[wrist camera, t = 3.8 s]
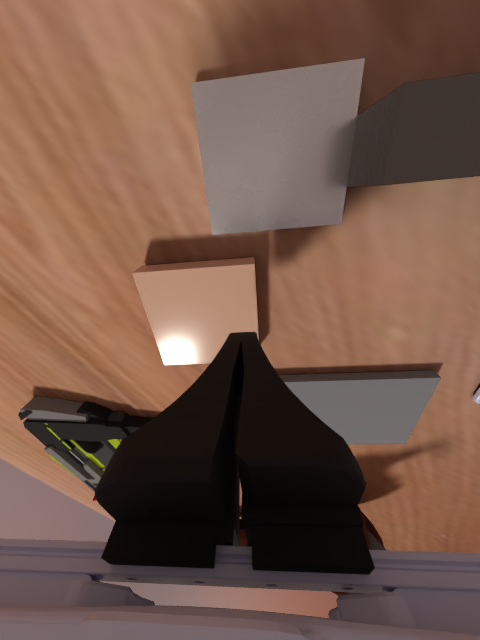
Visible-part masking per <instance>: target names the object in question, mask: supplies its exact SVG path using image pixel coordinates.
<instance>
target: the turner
mask: <svg viewBox="0 0 480 640" xmlns="http://www.w3.org/2000/svg"><path fill="white" fill-rule="evenodd" d="M364 63H365V58H362V59H355V60H348V61H341V62H334V63H327V64H319V65H312V66H305V67H298V68H291V69H284V70H277V71H270V72H263V73H256V74H249V75H242V76H235V77H228V78H221V79H214V80H207V81H200V82H193V83H191V90H192V97H193V104H194V111H195V118H196V125H197V132H198V139H199V146H200V153H201V160H202V167H203V174H204V181H205V188H206V195H207V202H208V209H209V216H210V223H211V230H212V235H217V234H229V233H241V232H253V231H265V230H277V229H288V228H300V227H312V226H324V225H336V224H341V223H342V216H343V209H344V202H345V195H346V188H347V187H352V186H378V185H392V184H402V183H412V182H422V181H433V180H443V179H453V178H464V177H474V176H480V73H472V74H465V75H457V76H449V77H442V78H434V79H427V80H419V81H411V82H405V83H404V84H402V85H401V86H399V87H398V88H397V89H395V90H394V91H392V92H391V93H389V94H388V95H387V96H385V97H384V98H382V99H381V100H379V101H378V102H376V103H375V104H374V105H372V106H371V107H369V108H368V109H366V110H365V111H364V112H362V113H361V114H359V115H358V116H357V112H358V105H359V98H360V91H361V84H362V77H363V70H364Z"/></svg>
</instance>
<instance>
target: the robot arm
mask: <svg viewBox="0 0 480 640" xmlns="http://www.w3.org/2000/svg"><path fill="white" fill-rule="evenodd" d="M473 400H474V401H475V402H476V403H478V404H480V388H479V389H478V390H477V392H476V393H475V395H474V396H473ZM240 482H241V488H242V524H244V529H245V533H246V538H247V543H248V546H239V485H240ZM365 485H366V482H365V480H364V477H363V474H362V471H361V469H360V467H359V465H358V463H357V461H356V459H355V457H354V455H353V453H352V451H351V450H350V448H349V446H348V445H347V443H346V441H345V440H344V438H343V437H341V436H340V435H339V434H338V433H336V432H335V431H334V430H333V429H331V428H330V427H329V426H328V425H326V424H325V423H324V422H323V421H322V420H321V419H319V418H318V417H317V416H316V415H315V414H314V413H313V412H312V411H311V410H310V409H308V408H307V407H306V405H305V404H304V403H303V402H302V401H301V400H300V399H299V398H298V397H297V396H296V395H295V394H294V393H293V392H292V391H291V390H290V389H289V388H288V386H287V385H286V384H285V383H284V381H283V380H282V379H281V378H280V376H279V375H278V374H277V372H276V371H275V369H274V368H273V366H272V365H271V363H270V362H269V360H268V358H267V357H266V355H265V353H264V351H263V349H262V347H261V345H260V343H259V340H258V337H257V333H256V332H236V333H230V334H229V335H228V337H227V339H226V341H225V343H224V344H223V346H222V347H221V349H220V351H219V352H218V353H217V355H216V356H215V358H214V359H213V361H212V362H211V363H210V365H209V366H208V367H207V368H206V370H205V371H204V372H203V373H202V375H201V376H200V377H199V378H198V379H197V380H196V381H195V382H194V383H193V384H192V386H191V387H190V388H189V389H187V390H186V391H185V392H184V393H183V394H182V395H181V396H180V397H179V398H178V399H177V400H176V401H175V402H173V403H172V404H171V405H170V406H169V407H167V408H166V409H165V410H164V411H162V412H161V413H160V414H159V415H157V416H156V417H155V418H153V419H152V420H150V421H149V422H148V423H146V424H145V425H143V426H142V427H140V428H139V429H137V430H136V431H134V432H133V433H131V434H130V435H129V436H127V437H125V438H124V439H122V441H121V442H120V444H119V446H118V447H117V449H116V450H115V452H114V454H113V456H112V457H111V459H110V461H109V463H108V465H107V467H106V469H105V471H104V473H103V475H102V477H101V479H100V481H99V483H98V485H97V487H96V488H95V497H96V500H97V501H98V502H99V504H100V505H101V506H102V507H103V508H104V509H105V510H106V511H107V512H108V513H109V514H110V515H111V516H112V517H113V518H114V519H115V520H116V522H115V525H114V527H113V529H112V532H111V534H110V537H109V539H108V542H96V541H95V542H93V541H62V540H31V539H30V540H29V539H28V540H27V539H0V640H480V553H456V552H423V551H390V550H369V548H368V545H367V542H366V539H365V536H364V533H363V530H362V526H363V520H362V517H361V514H360V511H359V508H358V503H359V501H360V499H361V496H362V494H363V492H364V490H365ZM100 581H114V582H115V581H117V582H136V583H158V584H180V585H201V586H223V587H225V586H226V587H245V588H246V587H247V588H268V589H290V590H311V591H332V592H354V593H362V594H352V595H341V596H338V599H337V605H338V607H336V608H334V609H332V610H330V612H329V614H328V615H329V618H321V617H312V616H303V615H295V614H285V613H275V612H265V611H253V610H240V609H227V608H210V607H191V606H158V605H157V606H156V605H155V603H154V602H153V601H150V600H147V599H145V598H142V597H140V596H138V595H137V594H135V593H133V591H132V590H131V589H130V587H126V586H119V585H113V584H108V583H102V582H100Z"/></svg>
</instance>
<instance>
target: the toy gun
mask: <svg viewBox="0 0 480 640" xmlns="http://www.w3.org/2000/svg"><path fill="white" fill-rule="evenodd" d="M19 417H20V419H21V420H22V419H24V418H25V417H26V418H27V419H26V420H25V421H24V422H23V423H24V427H25V428H26V429H27V430H29V431H30V432H31V433H32V434H33V435H34V436H35V437H36V438H37V439H39V440H40V441H41V442H42V443H43V444H44V445H45V446H46V448H45V449H44V450H45V451H46V452H47V453H48V454H49V455H50V457H51V459H53V460H55V461H56V462H57V463H58V464H60V465H62V466H63V467H64V468H65V469H66V470H68V471H69V472H70V473H71V474H73V475H74V476H76V477H78V478H79V479H80V480H81V481H82V482H84V483H85V484H86V485H87V486H88V487H90V488H91V489H92V490H93V491H94V492H95V488H96V487H97V485H98V483H99V481H100V479H101V477H102V475H103V473H104V471H105V469H106V467H107V465H108V463H109V461H110V459H111V457H112V456H113V454H114V452H115V450H116V449H117V447H118V446H119V444H120V442H121V441H122V439H124V438H125V437H127V436H129V435H130V434H131V433H133V432H134V431H136V430H137V429H139V428H140V427H142V426H143V425H145V424H146V423H148V422H149V421H150V420H152V419H153V418H150V417H139V416H129V415H128V414H126V413H124V411H119V412H113V411H111V409H108V408H106V407H103V406H101V405H98V404H96V403H93V402H88V401H86V402H84V403H80V402H74V401H69V400H63V399H57V398H48V397H37V396H36V397H34V398H33V399H32V400H31V401H30V402H29V403H28V404H26V405H25V406H24V407H23V408H22V409H21V410H20V413H19ZM95 500H96V497H95V496H94V498H93V501H95Z"/></svg>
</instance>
